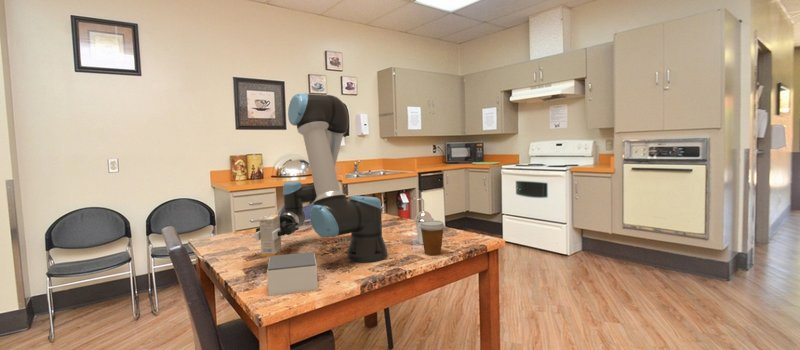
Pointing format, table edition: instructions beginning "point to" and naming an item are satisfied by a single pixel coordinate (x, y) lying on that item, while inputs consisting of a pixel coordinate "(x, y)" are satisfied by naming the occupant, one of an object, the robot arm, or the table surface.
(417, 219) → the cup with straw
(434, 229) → the disposable coffee cup
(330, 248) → the table surface
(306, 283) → the riser block
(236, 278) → the table surface
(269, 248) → the supplement box
